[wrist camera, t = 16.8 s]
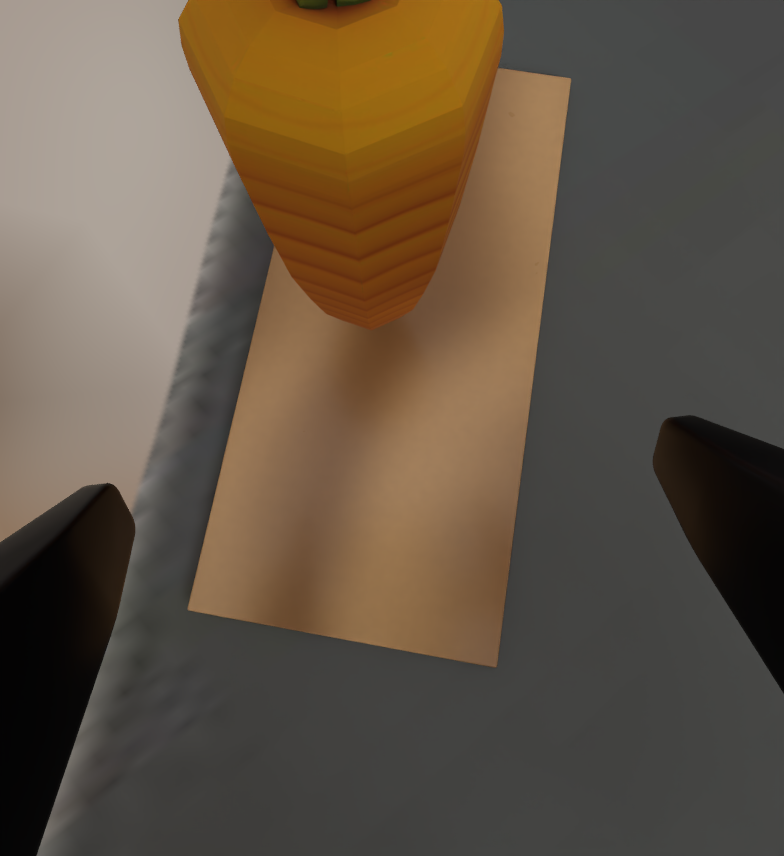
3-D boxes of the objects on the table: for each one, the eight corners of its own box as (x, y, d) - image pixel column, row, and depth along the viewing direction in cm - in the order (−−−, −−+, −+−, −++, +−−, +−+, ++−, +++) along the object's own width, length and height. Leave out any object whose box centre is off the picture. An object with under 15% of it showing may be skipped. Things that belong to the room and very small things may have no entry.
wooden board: (191, 608, 16) (186, 610, 16) (323, 51, 20) (322, 41, 20) (494, 664, 16) (496, 668, 15) (568, 86, 20) (571, 77, 19)
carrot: (303, 386, 17) (-257, -450, 2) (301, 255, 18) (-112, -935, 3) (446, 379, 17) (767, -489, 2) (437, 248, 18) (630, -964, 3)
